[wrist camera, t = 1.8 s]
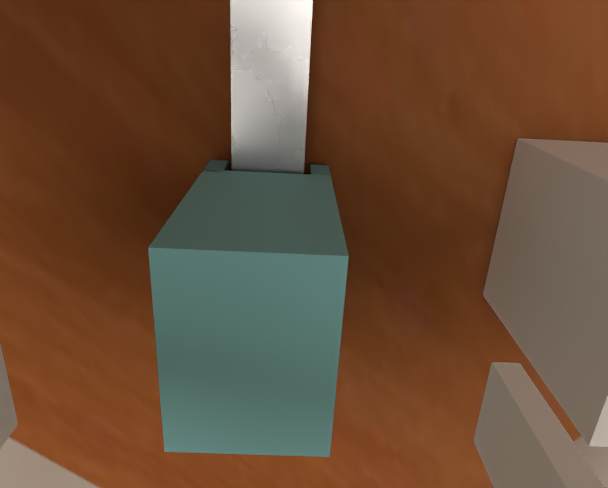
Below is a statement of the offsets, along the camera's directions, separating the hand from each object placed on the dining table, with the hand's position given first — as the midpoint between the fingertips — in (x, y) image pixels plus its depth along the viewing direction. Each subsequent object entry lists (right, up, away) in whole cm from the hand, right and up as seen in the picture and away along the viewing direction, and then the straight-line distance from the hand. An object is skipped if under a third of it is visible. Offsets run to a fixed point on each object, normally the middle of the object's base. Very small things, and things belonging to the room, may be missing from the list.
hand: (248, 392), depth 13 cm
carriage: (0, +5, +10) cm, 11 cm away
